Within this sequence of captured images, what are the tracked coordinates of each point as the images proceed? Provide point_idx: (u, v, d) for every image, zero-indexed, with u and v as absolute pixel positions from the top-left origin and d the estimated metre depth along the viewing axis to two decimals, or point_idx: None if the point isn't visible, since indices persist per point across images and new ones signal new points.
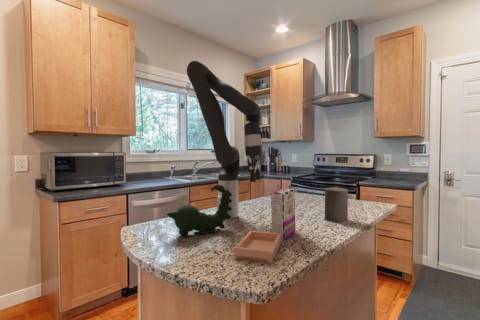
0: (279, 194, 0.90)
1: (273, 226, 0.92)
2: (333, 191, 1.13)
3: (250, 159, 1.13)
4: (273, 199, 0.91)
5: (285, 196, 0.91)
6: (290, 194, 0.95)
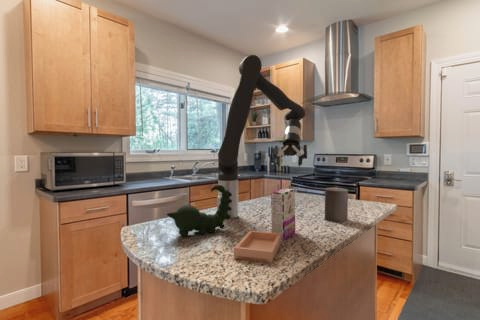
0: (279, 194, 0.90)
1: (273, 226, 0.92)
2: (333, 191, 1.13)
3: (306, 147, 1.13)
4: (272, 199, 0.91)
5: (285, 196, 0.91)
6: (290, 194, 0.95)
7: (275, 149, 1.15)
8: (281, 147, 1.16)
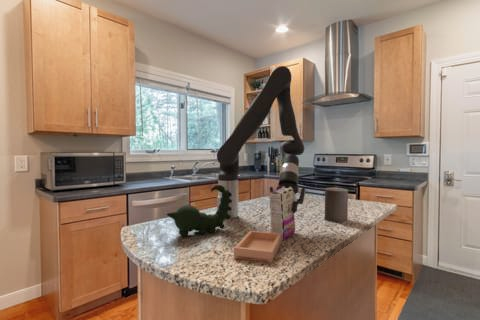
0: (277, 193, 0.90)
1: (273, 226, 0.92)
2: (333, 191, 1.13)
3: (304, 191, 1.01)
4: (271, 199, 0.92)
5: (283, 195, 0.91)
6: (289, 194, 0.95)
7: (271, 191, 1.03)
8: (277, 188, 1.04)
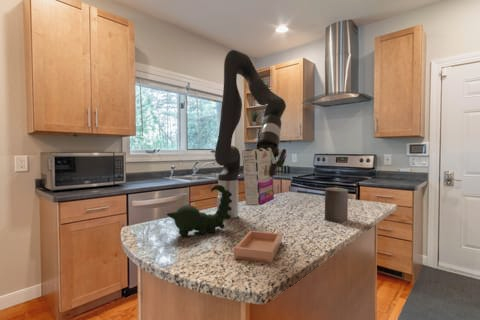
0: (251, 151, 0.76)
1: (246, 190, 0.78)
2: (333, 191, 1.13)
3: None
4: (244, 158, 0.77)
5: (259, 153, 0.77)
6: (266, 153, 0.81)
7: None
8: None
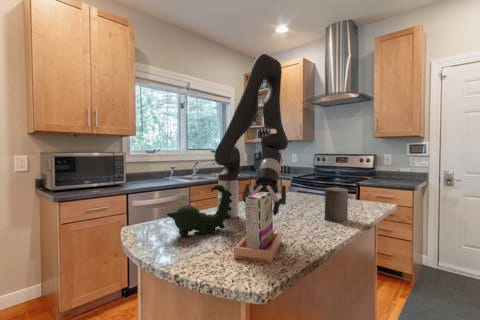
0: (255, 199, 0.76)
1: (248, 237, 0.78)
2: (333, 191, 1.13)
3: None
4: (247, 205, 0.77)
5: (261, 201, 0.77)
6: (268, 199, 0.81)
7: (246, 189, 0.90)
8: (254, 187, 0.90)
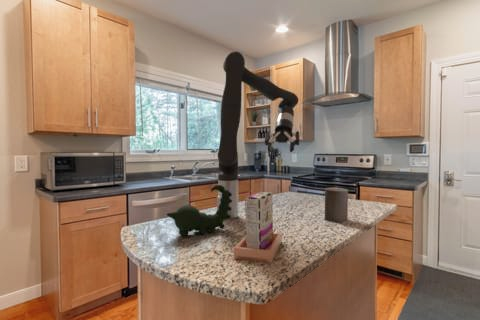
0: (255, 199, 0.76)
1: (248, 237, 0.78)
2: (333, 191, 1.13)
3: (298, 134, 1.11)
4: (247, 205, 0.77)
5: (261, 201, 0.77)
6: (267, 199, 0.81)
7: (267, 135, 1.13)
8: (273, 133, 1.13)
